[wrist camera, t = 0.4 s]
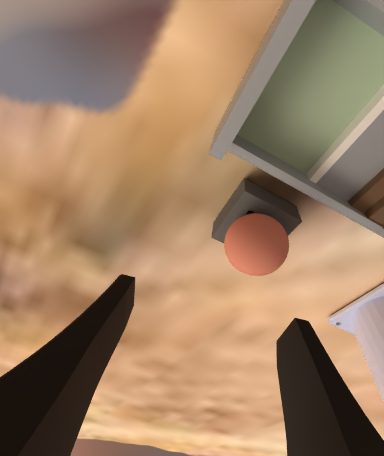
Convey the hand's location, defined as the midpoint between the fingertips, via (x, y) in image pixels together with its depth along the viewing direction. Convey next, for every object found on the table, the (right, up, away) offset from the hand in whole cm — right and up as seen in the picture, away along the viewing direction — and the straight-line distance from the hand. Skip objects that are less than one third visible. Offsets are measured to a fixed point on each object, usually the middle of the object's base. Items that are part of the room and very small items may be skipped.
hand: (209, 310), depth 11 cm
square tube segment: (+4, +5, +8) cm, 10 cm away
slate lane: (+9, +10, +3) cm, 13 cm away
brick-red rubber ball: (+3, +3, +5) cm, 6 cm away
